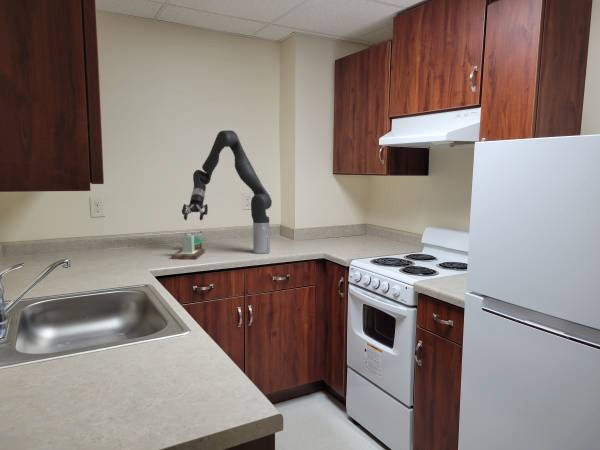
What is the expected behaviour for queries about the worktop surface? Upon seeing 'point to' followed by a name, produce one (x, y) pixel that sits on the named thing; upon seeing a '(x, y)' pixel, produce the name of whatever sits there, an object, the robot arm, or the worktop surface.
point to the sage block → (188, 243)
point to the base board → (188, 254)
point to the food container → (197, 240)
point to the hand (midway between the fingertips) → (193, 219)
